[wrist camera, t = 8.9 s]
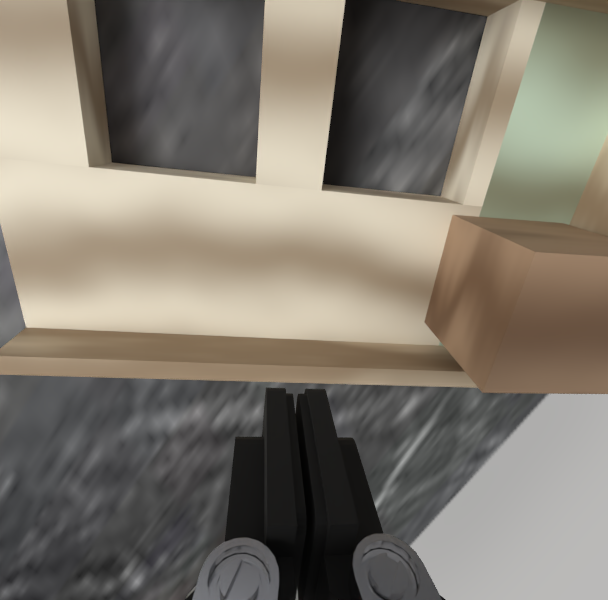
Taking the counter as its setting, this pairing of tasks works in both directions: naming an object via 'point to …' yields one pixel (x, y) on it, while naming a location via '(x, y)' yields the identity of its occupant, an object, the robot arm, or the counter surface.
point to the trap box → (276, 204)
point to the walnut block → (524, 305)
